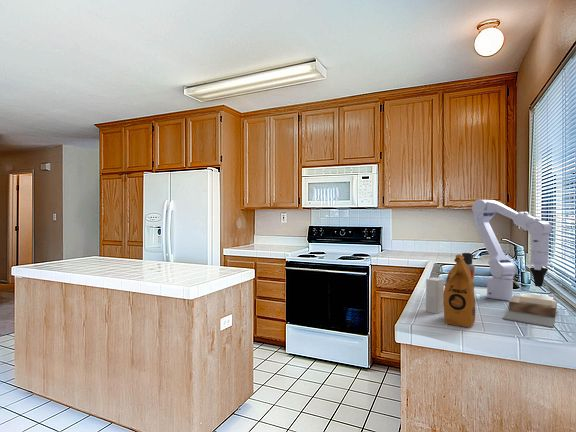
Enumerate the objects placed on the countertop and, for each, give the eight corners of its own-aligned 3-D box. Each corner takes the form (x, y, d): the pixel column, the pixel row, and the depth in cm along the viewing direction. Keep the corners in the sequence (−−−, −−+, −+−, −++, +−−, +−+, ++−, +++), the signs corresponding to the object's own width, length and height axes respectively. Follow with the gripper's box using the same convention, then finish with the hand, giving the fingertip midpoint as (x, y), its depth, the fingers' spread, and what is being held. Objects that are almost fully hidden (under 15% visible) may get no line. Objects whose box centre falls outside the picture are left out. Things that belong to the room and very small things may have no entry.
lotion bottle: (458, 301, 149) (460, 252, 149) (457, 298, 154) (459, 251, 154) (474, 303, 147) (475, 253, 147) (472, 300, 152) (474, 252, 152)
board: (508, 310, 137) (509, 301, 136) (513, 304, 147) (513, 295, 147) (555, 318, 128) (555, 308, 128) (556, 310, 138) (556, 301, 138)
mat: (502, 319, 125) (502, 318, 125) (508, 310, 136) (508, 309, 136) (553, 327, 116) (553, 326, 116) (555, 318, 127) (555, 317, 127)
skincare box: (432, 308, 137) (433, 277, 137) (443, 311, 134) (444, 278, 134) (425, 311, 133) (425, 278, 133) (436, 314, 130) (437, 280, 130)
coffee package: (439, 324, 118) (441, 256, 118) (444, 315, 129) (446, 253, 129) (473, 329, 113) (475, 259, 113) (476, 319, 124) (477, 255, 124)
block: (519, 301, 137) (519, 296, 137) (521, 298, 142) (521, 293, 142) (552, 306, 130) (552, 300, 130) (553, 302, 136) (553, 297, 136)
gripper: (551, 254, 135) (550, 290, 135) (552, 251, 146) (552, 284, 146) (528, 252, 139) (527, 287, 139) (531, 249, 151) (531, 282, 151)
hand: (538, 286), depth 143 cm, fingers closed
